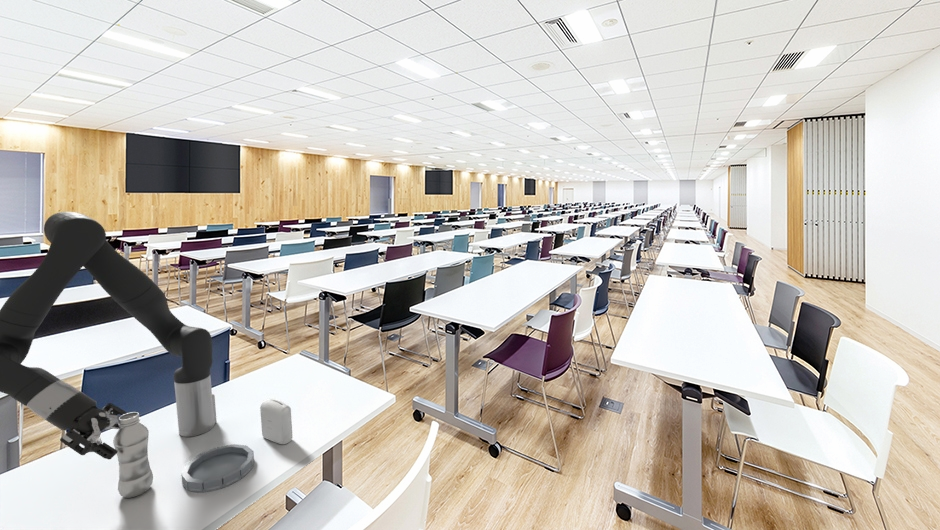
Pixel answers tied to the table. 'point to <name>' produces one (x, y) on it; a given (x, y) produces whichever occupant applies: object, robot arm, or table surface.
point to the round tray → (217, 468)
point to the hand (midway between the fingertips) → (125, 445)
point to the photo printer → (276, 421)
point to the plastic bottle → (132, 456)
